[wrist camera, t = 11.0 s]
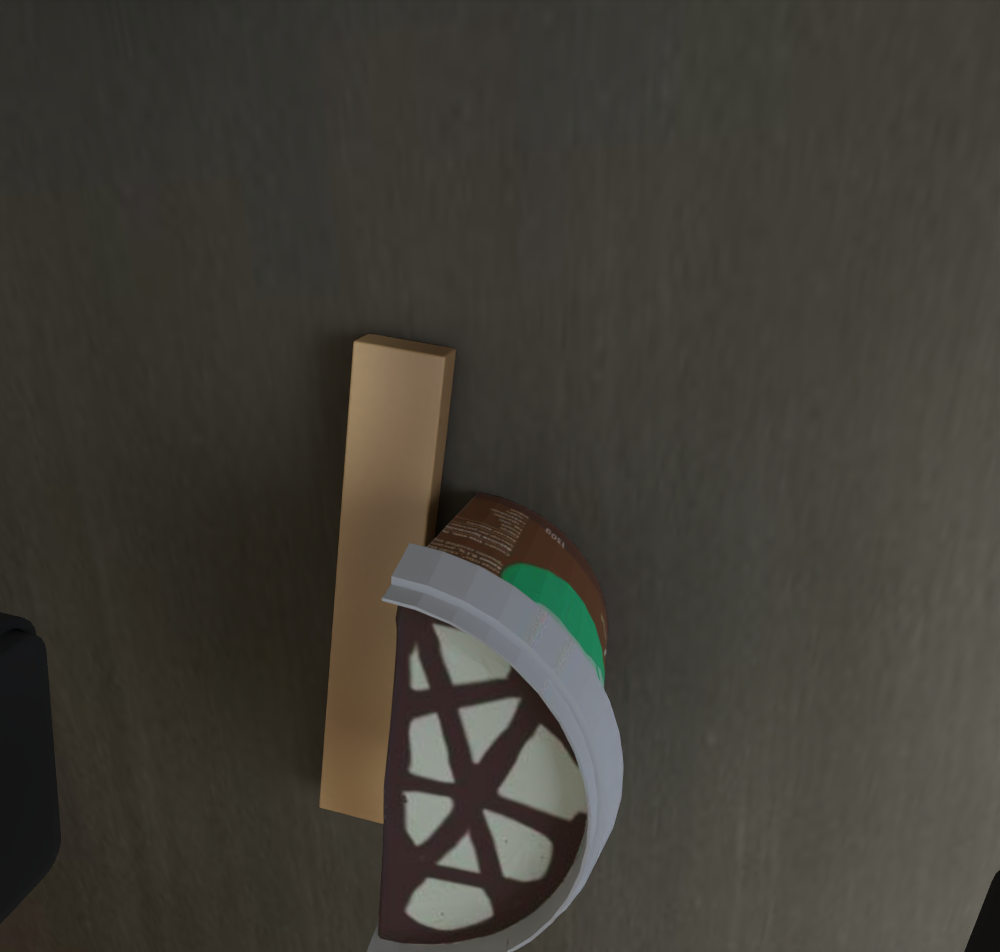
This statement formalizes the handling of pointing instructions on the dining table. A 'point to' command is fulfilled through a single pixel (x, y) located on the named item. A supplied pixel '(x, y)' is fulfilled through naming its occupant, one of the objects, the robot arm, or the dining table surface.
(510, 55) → the dining table surface
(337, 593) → the strip
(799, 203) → the dining table surface
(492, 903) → the food container
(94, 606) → the dining table surface
